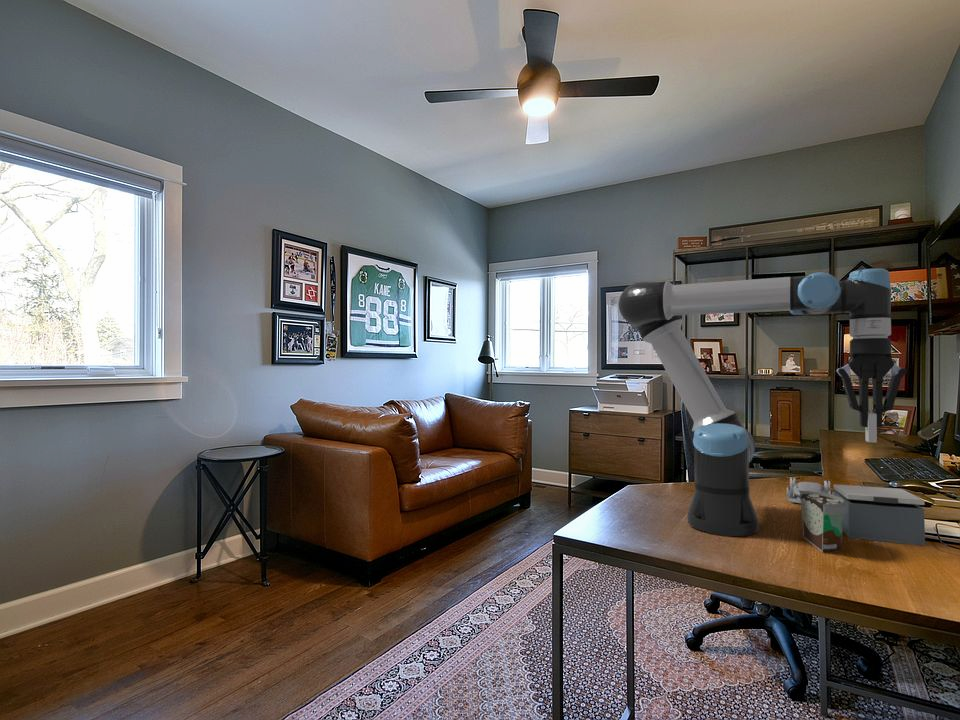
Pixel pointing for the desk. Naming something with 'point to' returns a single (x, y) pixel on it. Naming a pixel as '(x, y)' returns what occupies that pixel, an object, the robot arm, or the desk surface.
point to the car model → (805, 489)
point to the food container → (822, 520)
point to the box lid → (878, 494)
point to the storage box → (884, 521)
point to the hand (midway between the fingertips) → (871, 441)
